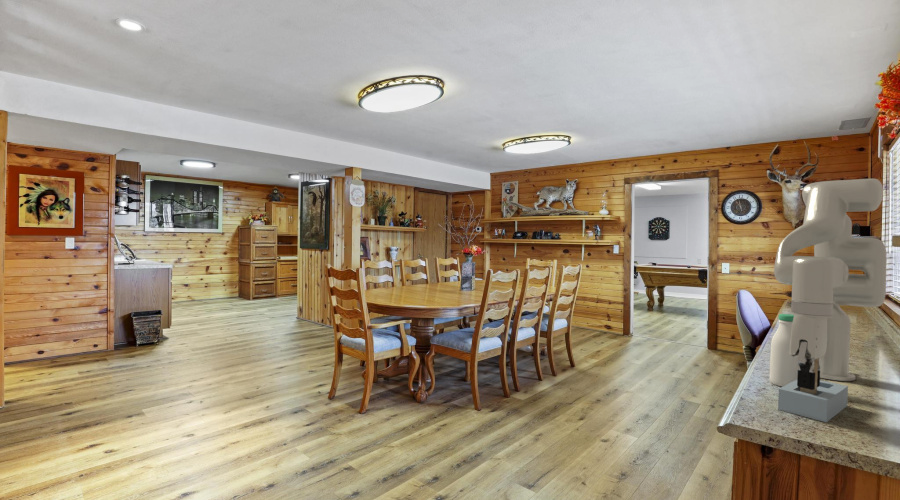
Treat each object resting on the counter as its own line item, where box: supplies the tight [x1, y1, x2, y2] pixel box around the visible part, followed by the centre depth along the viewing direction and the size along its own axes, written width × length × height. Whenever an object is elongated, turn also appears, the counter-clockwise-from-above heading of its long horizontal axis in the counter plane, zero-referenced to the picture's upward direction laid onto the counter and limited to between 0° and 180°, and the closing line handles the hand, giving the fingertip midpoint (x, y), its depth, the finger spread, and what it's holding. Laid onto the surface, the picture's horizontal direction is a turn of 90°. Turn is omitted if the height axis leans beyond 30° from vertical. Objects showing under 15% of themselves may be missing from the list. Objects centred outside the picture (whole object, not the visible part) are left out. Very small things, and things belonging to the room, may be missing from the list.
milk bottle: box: [769, 313, 798, 388], centre depth 124 cm, size 8×8×20 cm
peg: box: [800, 356, 818, 395], centre depth 104 cm, size 3×3×10 cm
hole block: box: [777, 379, 849, 423], centre depth 107 cm, size 18×9×5 cm, turn 127°
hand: (808, 386), depth 104 cm, fingers closed on peg, 3 cm apart
